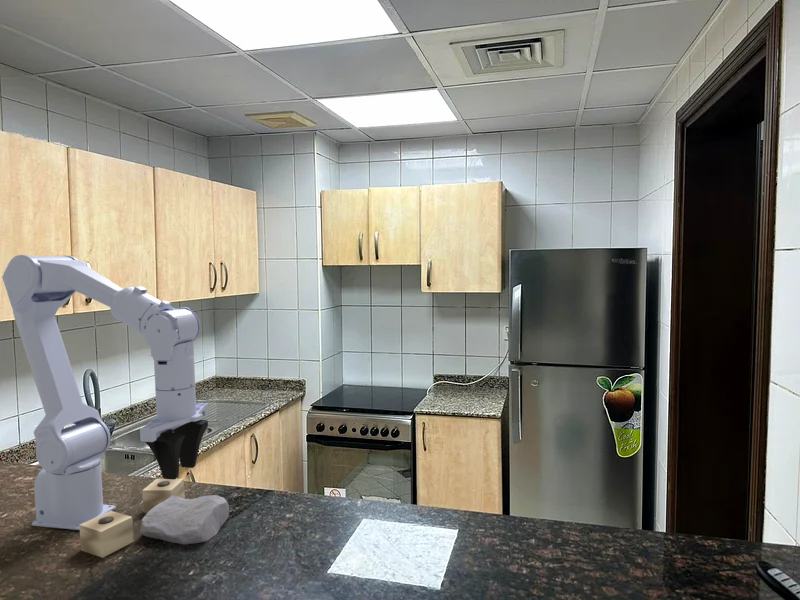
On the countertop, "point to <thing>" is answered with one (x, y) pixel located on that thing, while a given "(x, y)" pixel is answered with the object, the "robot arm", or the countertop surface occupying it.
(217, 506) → the stone block
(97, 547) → the beech block
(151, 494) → the beech block
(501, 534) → the countertop surface
